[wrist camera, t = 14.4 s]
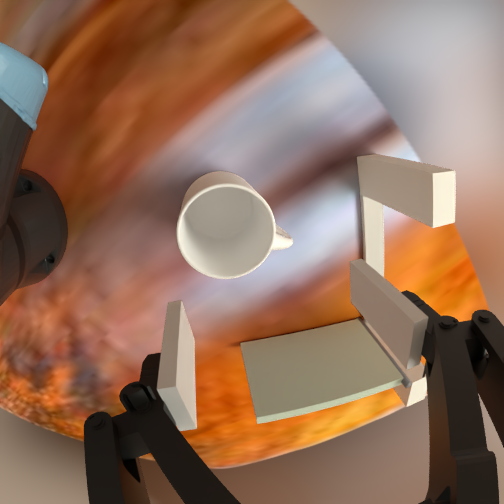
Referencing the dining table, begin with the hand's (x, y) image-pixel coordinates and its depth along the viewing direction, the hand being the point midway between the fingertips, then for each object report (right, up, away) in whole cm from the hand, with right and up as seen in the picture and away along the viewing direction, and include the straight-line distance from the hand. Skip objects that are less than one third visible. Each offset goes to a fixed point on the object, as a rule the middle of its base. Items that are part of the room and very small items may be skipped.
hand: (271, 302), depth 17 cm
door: (+7, -10, +28) cm, 31 cm away
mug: (-3, +8, +20) cm, 22 cm away
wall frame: (+16, +1, +26) cm, 30 cm away
